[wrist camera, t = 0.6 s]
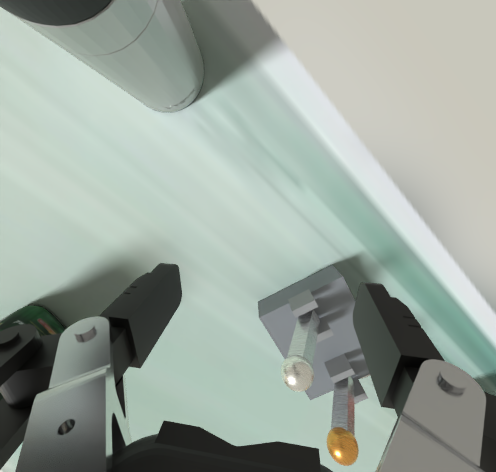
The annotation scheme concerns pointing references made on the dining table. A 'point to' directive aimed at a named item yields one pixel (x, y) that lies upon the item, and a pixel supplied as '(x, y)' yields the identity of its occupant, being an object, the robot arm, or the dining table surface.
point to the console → (320, 328)
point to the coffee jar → (33, 321)
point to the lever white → (301, 353)
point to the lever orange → (343, 424)
